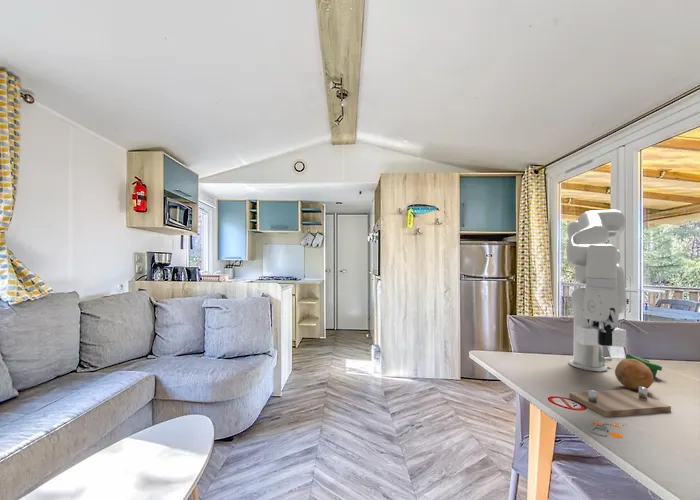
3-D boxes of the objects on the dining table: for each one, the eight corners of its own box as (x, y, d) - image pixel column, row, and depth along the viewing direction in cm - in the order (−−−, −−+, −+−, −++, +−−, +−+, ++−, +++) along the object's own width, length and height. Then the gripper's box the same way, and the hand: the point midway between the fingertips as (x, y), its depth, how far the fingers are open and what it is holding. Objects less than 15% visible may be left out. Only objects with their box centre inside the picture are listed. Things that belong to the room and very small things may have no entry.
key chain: (621, 444, 77) (621, 440, 77) (584, 431, 82) (584, 427, 83) (631, 427, 85) (631, 423, 85) (597, 416, 91) (597, 413, 91)
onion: (661, 394, 106) (661, 363, 106) (638, 396, 104) (638, 364, 104) (629, 382, 116) (629, 354, 116) (607, 384, 113) (607, 355, 113)
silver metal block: (576, 341, 104) (576, 325, 104) (616, 343, 103) (616, 327, 103) (583, 344, 100) (584, 328, 100) (626, 346, 99) (626, 330, 99)
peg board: (628, 393, 106) (628, 379, 106) (670, 411, 94) (670, 395, 94) (569, 397, 101) (569, 383, 102) (606, 416, 90) (606, 400, 90)
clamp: (653, 389, 121) (667, 371, 118) (635, 383, 123) (648, 365, 119) (637, 367, 132) (649, 350, 128) (621, 362, 133) (632, 345, 129)
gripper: (572, 281, 110) (571, 336, 110) (606, 286, 94) (606, 350, 93) (596, 282, 110) (595, 337, 109) (635, 286, 93) (634, 351, 92)
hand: (600, 342), depth 101 cm, fingers closed on silver metal block, 4 cm apart
